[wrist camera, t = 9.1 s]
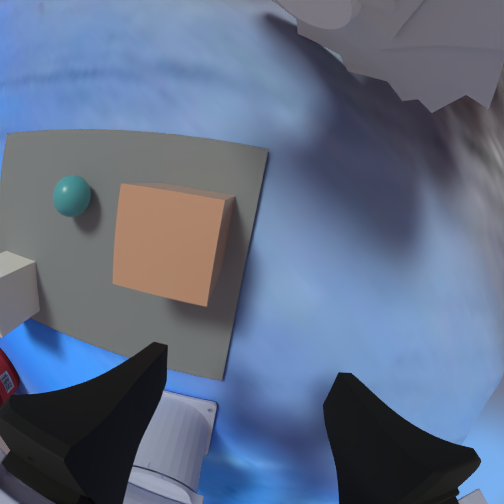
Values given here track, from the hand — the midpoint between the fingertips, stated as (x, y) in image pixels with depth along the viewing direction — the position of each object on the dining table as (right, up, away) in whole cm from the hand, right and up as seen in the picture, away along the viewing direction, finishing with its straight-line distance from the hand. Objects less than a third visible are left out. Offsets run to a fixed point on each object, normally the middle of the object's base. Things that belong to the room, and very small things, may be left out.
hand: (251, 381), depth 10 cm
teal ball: (-13, +9, +6) cm, 17 cm away
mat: (-13, +6, +8) cm, 16 cm away
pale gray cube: (-22, +3, +9) cm, 24 cm away
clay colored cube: (-4, +7, +8) cm, 11 cm away
